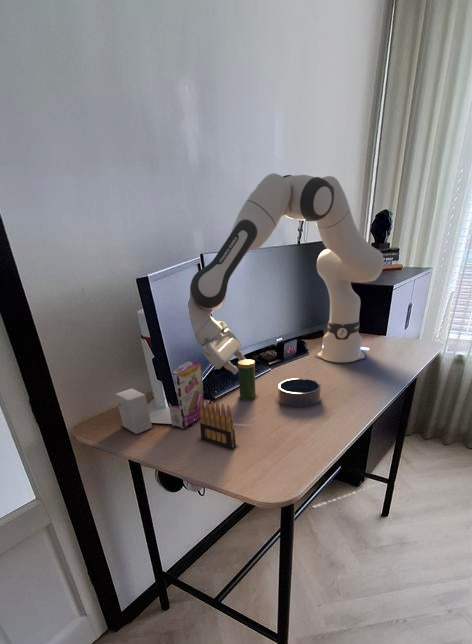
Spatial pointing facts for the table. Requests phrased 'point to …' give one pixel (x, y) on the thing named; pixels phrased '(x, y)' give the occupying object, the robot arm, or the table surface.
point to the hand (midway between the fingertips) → (241, 367)
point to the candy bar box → (187, 394)
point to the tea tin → (247, 379)
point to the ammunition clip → (217, 425)
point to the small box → (134, 410)
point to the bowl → (299, 392)
